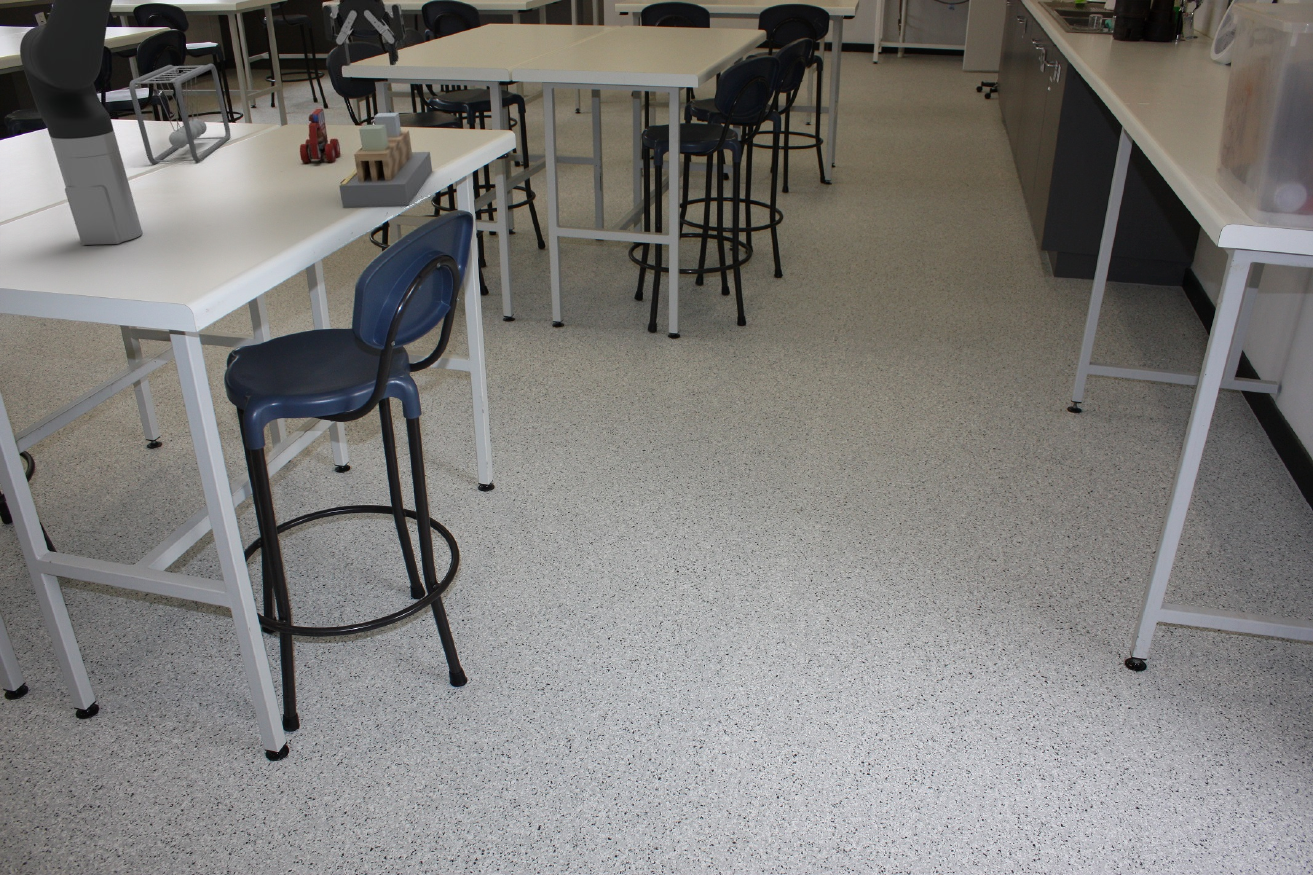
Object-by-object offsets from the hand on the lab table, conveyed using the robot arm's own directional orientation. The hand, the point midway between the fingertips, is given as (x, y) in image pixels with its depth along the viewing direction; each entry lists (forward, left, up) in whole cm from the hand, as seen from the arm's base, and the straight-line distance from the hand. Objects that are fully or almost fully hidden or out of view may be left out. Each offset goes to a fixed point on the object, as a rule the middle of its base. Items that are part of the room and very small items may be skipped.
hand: (370, 65), depth 178 cm
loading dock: (0, 0, -23) cm, 23 cm away
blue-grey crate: (+6, 0, -14) cm, 15 cm away
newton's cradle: (+41, +54, -23) cm, 72 cm away
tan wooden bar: (0, 0, -19) cm, 19 cm away
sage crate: (-6, 0, -14) cm, 15 cm away
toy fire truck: (+28, +21, -23) cm, 42 cm away
